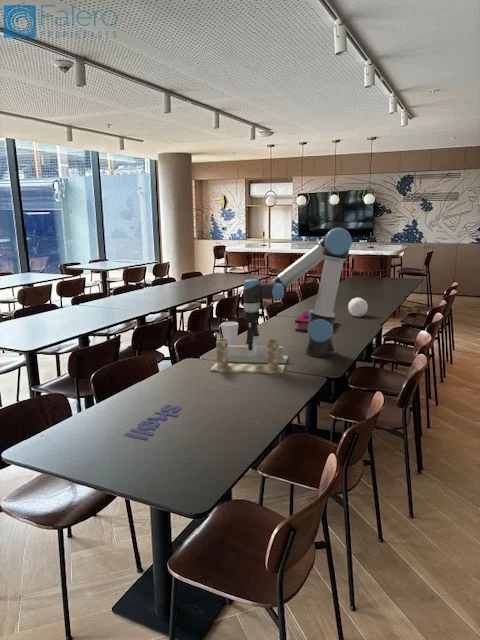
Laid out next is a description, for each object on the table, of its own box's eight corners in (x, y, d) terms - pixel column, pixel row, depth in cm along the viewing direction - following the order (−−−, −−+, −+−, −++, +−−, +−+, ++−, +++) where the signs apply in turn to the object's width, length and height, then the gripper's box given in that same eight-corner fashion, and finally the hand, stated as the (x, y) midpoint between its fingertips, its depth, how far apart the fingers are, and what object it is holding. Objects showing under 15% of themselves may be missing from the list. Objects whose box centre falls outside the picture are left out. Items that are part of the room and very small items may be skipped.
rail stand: (284, 367, 225) (284, 338, 222) (282, 373, 216) (282, 344, 213) (215, 365, 232) (214, 337, 229) (210, 371, 222) (208, 342, 219)
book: (335, 323, 314) (335, 312, 312) (328, 333, 288) (328, 321, 287) (304, 322, 321) (304, 311, 319) (294, 331, 295) (294, 319, 294)
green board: (288, 357, 241) (287, 355, 240) (286, 363, 231) (286, 361, 231) (222, 355, 247) (222, 354, 247) (218, 361, 238) (218, 360, 238)
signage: (166, 403, 184) (188, 406, 180) (166, 405, 184) (188, 408, 181) (121, 434, 159) (146, 439, 155) (121, 436, 159) (146, 441, 155)
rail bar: (283, 357, 238) (283, 346, 236) (282, 359, 235) (282, 347, 233) (224, 356, 243) (224, 345, 242) (223, 358, 241) (223, 346, 239)
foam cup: (236, 348, 260) (236, 325, 257) (220, 348, 262) (219, 325, 259) (240, 344, 269) (239, 321, 266) (224, 343, 271) (223, 321, 268)
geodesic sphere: (343, 306, 340) (347, 292, 330) (362, 305, 341) (366, 291, 331) (348, 321, 331) (353, 308, 320) (367, 320, 332) (372, 306, 322)
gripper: (248, 306, 247) (250, 345, 251) (239, 316, 223) (241, 359, 227) (263, 306, 245) (264, 345, 250) (255, 316, 221) (256, 359, 226)
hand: (253, 352), depth 238 cm, fingers open, 13 cm apart
